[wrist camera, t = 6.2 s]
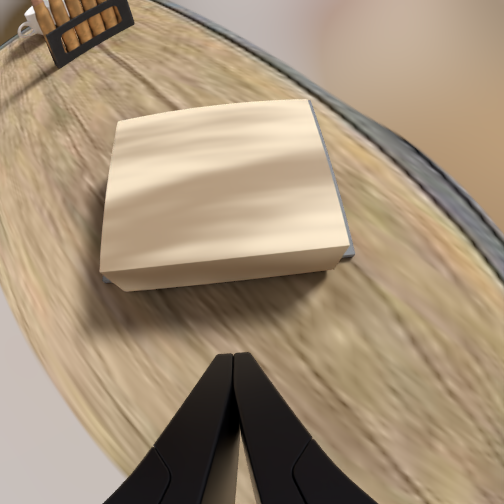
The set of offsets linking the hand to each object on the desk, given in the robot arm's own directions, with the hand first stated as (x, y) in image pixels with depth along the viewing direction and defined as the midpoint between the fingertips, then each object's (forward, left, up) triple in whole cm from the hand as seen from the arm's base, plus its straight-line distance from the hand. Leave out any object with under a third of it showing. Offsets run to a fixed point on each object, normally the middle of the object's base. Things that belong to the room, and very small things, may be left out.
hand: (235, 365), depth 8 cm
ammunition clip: (+35, +14, -9) cm, 39 cm away
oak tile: (+5, 0, -7) cm, 9 cm away
